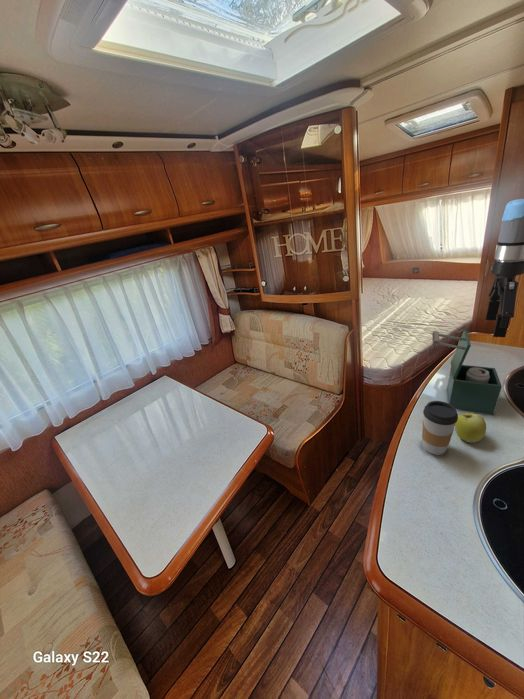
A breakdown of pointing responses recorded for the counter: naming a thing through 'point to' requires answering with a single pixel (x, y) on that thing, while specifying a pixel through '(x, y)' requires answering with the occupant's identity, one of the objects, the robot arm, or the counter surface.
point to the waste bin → (473, 392)
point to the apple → (470, 427)
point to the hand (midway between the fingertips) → (494, 327)
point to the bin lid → (460, 350)
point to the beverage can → (477, 375)
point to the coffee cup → (438, 426)
